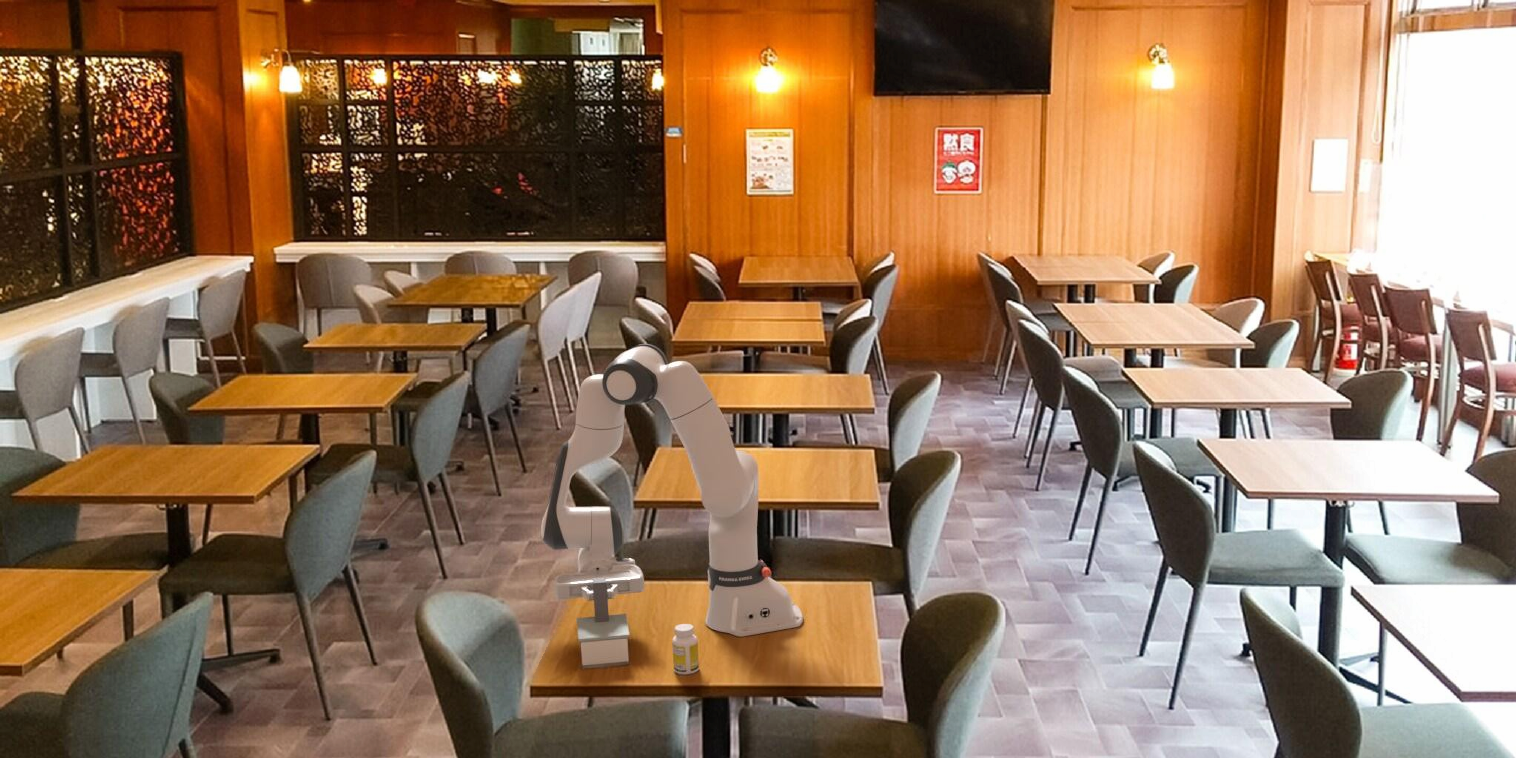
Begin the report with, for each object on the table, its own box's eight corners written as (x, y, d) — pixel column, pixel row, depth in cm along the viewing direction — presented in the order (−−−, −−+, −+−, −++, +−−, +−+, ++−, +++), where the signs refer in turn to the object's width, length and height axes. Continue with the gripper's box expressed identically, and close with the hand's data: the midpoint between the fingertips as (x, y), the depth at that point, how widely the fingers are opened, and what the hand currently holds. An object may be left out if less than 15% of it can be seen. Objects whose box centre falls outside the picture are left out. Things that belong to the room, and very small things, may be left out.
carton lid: (576, 620, 320) (574, 579, 318) (626, 616, 322) (623, 575, 320) (578, 641, 309) (575, 599, 307) (629, 637, 310) (627, 594, 308)
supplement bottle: (697, 663, 311) (695, 621, 309) (700, 673, 306) (698, 630, 303) (672, 666, 310) (670, 623, 308) (675, 676, 305) (673, 633, 302)
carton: (581, 648, 321) (579, 623, 319) (625, 644, 322) (624, 619, 321) (582, 668, 310) (580, 642, 309) (628, 664, 311) (627, 638, 310)
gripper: (551, 565, 328) (552, 587, 315) (640, 558, 331) (645, 579, 318) (553, 591, 330) (554, 614, 316) (642, 583, 332) (646, 605, 319)
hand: (600, 596), depth 317 cm, fingers closed on carton lid, 3 cm apart
